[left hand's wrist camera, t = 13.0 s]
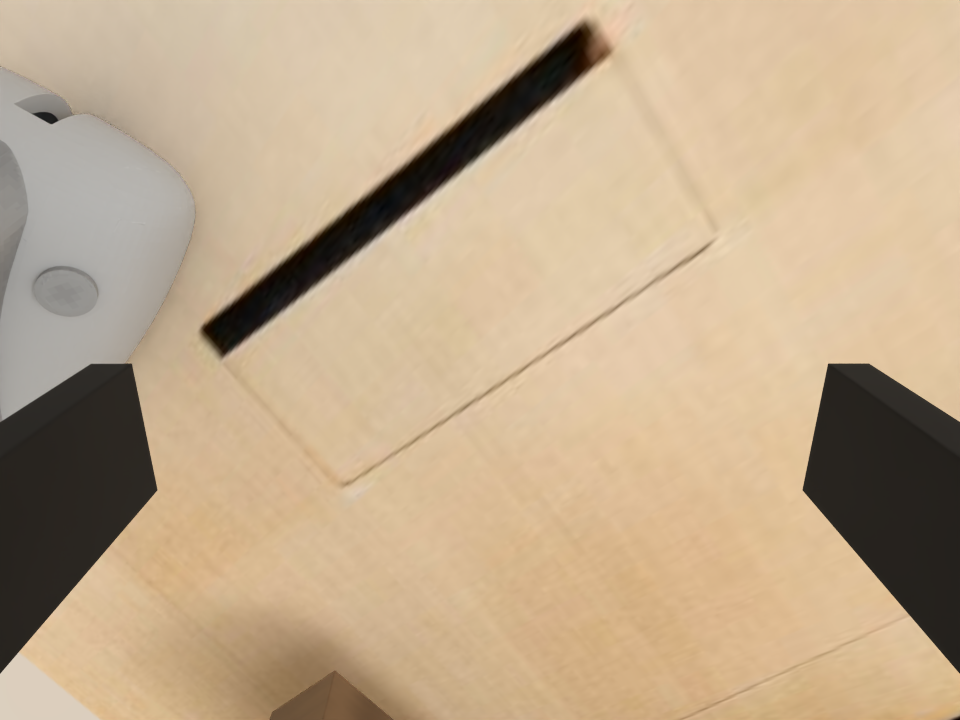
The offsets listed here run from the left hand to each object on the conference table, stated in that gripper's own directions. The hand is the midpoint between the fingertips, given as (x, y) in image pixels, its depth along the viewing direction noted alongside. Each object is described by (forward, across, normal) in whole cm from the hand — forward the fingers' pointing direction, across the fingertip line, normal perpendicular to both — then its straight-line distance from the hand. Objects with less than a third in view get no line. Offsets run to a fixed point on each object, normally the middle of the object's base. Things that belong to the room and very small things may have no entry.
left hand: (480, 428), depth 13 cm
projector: (+31, -28, -4) cm, 42 cm away
